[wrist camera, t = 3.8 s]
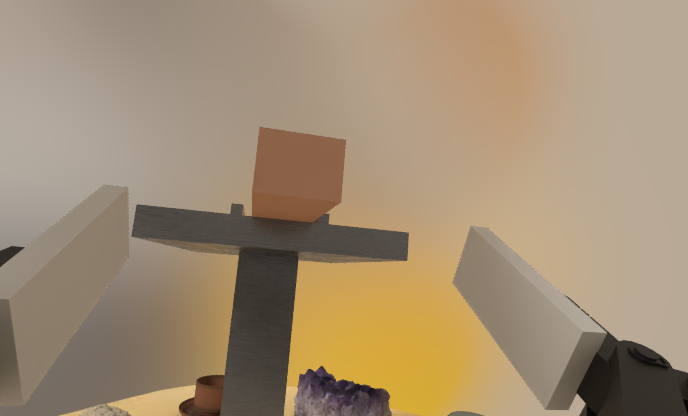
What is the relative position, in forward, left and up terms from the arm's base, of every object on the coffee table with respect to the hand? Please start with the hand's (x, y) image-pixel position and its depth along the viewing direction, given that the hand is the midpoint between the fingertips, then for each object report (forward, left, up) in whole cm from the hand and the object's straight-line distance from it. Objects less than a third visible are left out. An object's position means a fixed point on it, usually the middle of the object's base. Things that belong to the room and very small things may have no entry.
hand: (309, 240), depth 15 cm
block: (-13, +18, +2) cm, 22 cm away
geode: (-20, +55, -28) cm, 65 cm away
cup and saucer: (-41, +48, -28) cm, 69 cm away
